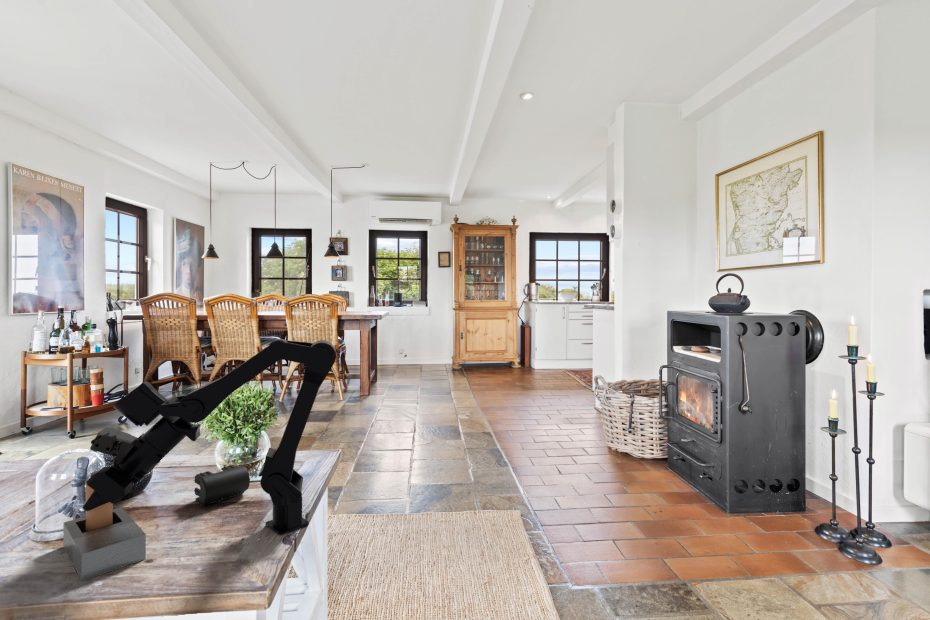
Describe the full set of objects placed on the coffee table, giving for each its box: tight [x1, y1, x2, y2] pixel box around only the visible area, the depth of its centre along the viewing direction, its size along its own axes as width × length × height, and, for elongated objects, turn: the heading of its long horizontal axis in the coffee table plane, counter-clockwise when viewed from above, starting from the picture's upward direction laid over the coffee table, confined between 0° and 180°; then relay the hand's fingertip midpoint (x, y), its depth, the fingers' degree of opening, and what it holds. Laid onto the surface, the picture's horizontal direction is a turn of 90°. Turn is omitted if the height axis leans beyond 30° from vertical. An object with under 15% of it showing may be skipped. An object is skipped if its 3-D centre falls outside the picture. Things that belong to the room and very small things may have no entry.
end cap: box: [193, 464, 251, 507], centre depth 109 cm, size 10×7×7 cm
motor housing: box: [62, 506, 147, 582], centre depth 86 cm, size 16×9×4 cm, turn 49°
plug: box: [85, 470, 114, 532], centre depth 88 cm, size 4×4×12 cm
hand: (90, 504), depth 87 cm, fingers closed on plug, 4 cm apart
